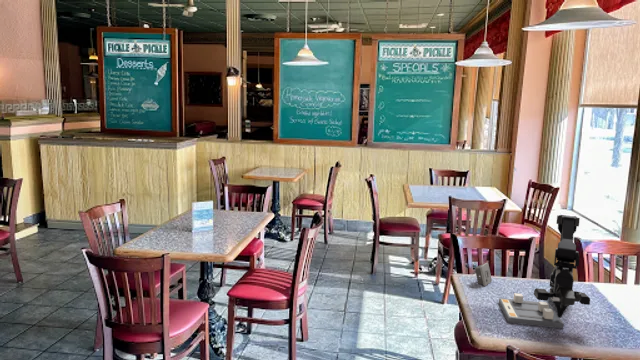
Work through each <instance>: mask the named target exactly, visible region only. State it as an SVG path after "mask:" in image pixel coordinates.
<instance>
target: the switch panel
mask: <svg viewBox="0 0 640 360" xmlns="http://www.w3.org/2000/svg"><path fill="white" fill-rule="evenodd" d="M513 299H514V298H513ZM513 299H512V298H511V299H510V298H504V297H503V298H501V297H498V303H499V306H500V308H501V310H502V312H503V314H504V316H505V318H506V320H507V323H512V324H520V325H530V326H539V327H547V328H556V329H557V328H559V329H564V325H565V323H564V322H563V320H562V319H561V318H558V316H557V312H556V310H555V309H554V308H553V307H552V306H551V304H550V303H549V302H547V304H548V305H549V306H548V309H552V310H553V312H554V316H553V320H552V319H545V318H544V317H543V312H541V311H539V309H538V302H539V301H531V300H523V303H515V302H514V300H513Z"/></svg>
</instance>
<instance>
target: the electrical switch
mask: <svg viewBox="0 0 640 360" xmlns="http://www.w3.org/2000/svg"><path fill="white" fill-rule="evenodd" d="M474 270H475V277H476V280H477V284H478V285H483V286H484V287H486V286H487V285H488V284H490V283H491V282H492V281H493V280H492V275H491V270H490V266H489V262H485V263H484V264H480V265H478V266H476V267H475V268H474Z"/></svg>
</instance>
